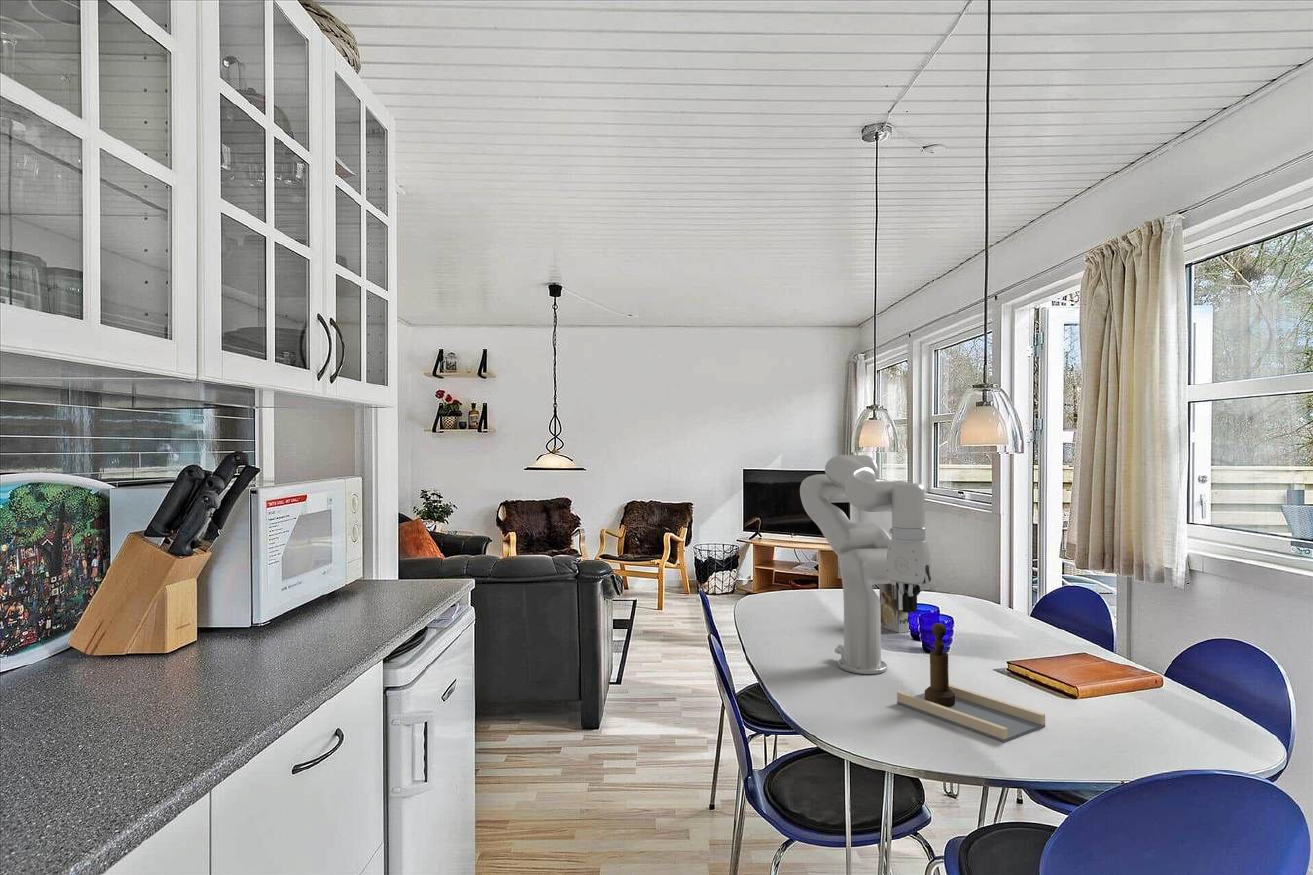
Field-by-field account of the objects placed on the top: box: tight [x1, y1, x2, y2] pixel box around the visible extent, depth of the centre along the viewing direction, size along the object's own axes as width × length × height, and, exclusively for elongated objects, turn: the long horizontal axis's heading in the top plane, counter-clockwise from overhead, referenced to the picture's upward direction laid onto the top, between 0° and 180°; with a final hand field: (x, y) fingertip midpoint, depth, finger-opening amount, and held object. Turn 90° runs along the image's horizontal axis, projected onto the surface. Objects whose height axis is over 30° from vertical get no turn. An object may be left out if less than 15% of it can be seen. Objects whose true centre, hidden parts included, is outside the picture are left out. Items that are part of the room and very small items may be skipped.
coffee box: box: [878, 584, 909, 634], centre depth 234 cm, size 9×6×16 cm
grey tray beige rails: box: [896, 683, 1046, 743], centre depth 159 cm, size 26×15×3 cm, turn 33°
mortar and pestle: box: [924, 622, 955, 707], centre depth 165 cm, size 7×6×18 cm
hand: (909, 611), depth 172 cm, fingers closed
